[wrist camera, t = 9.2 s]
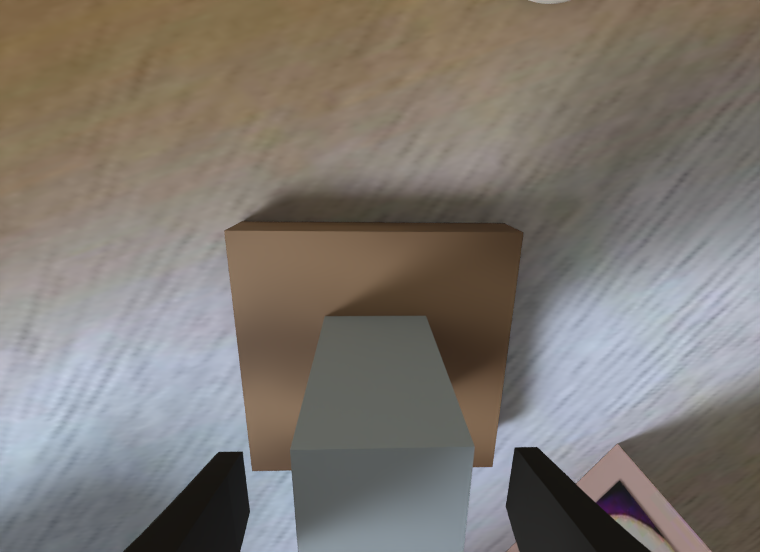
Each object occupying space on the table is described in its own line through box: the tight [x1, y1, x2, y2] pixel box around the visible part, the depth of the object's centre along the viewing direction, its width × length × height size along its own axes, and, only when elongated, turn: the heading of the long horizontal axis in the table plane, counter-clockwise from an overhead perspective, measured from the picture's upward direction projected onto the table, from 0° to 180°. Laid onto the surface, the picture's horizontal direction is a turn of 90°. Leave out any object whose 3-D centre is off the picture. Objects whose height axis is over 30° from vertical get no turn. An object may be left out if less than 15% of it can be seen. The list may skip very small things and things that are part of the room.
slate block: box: [290, 316, 475, 552], centre depth 12 cm, size 4×4×7 cm
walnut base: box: [224, 221, 523, 471], centre depth 16 cm, size 11×11×2 cm
